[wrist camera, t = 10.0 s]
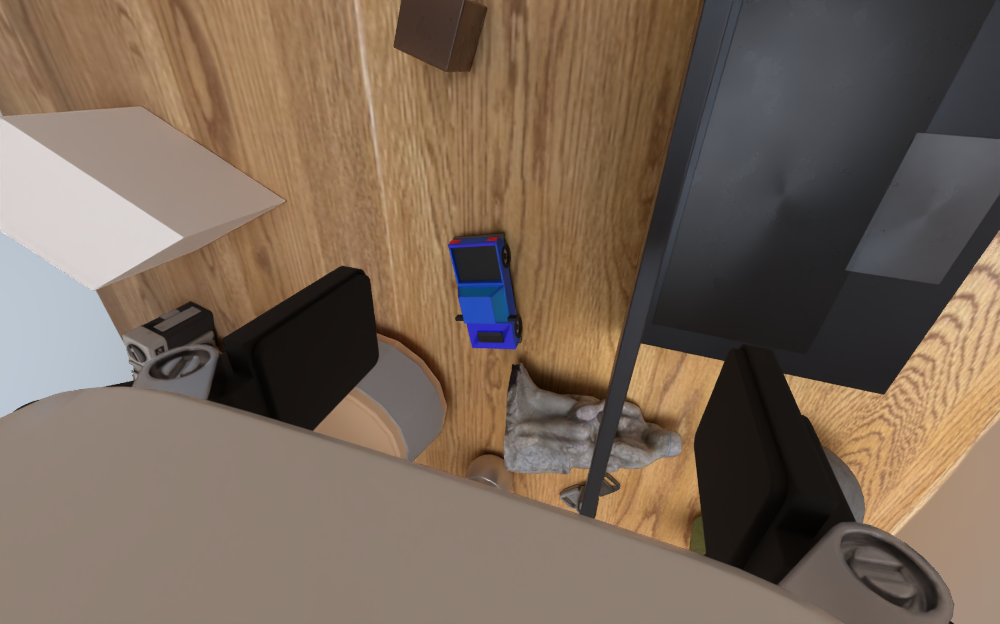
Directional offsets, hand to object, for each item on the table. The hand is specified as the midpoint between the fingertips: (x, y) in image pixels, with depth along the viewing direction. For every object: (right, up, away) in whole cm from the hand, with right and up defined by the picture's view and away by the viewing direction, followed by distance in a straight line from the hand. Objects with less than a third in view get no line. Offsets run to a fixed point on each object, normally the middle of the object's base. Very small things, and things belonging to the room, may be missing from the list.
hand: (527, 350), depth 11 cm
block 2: (-5, +24, +22) cm, 33 cm away
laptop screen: (+9, +6, +13) cm, 17 cm away
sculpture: (+10, -10, +37) cm, 39 cm away
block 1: (-41, +17, +41) cm, 61 cm away
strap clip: (+11, -22, +44) cm, 50 cm away
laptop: (+23, +10, +20) cm, 32 cm away
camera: (-45, -4, +55) cm, 71 cm away
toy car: (-1, +4, +33) cm, 34 cm away
